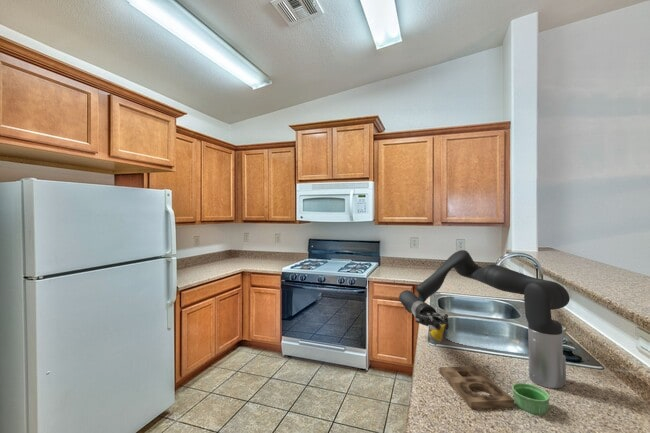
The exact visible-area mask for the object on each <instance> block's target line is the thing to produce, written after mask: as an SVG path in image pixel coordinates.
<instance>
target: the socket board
mask: <svg viewBox="0 0 650 433" xmlns="http://www.w3.org/2000/svg"><path fill="white" fill-rule="evenodd" d="M438 370H439V372H438V373H439V374H440V375H441V377H443V379H444V380H445V381H446V382H447V383H448V385H449V386H450V387H451V388H452V389H453V391H455V393H456V394H457V395H459V397H460V398H461V399H462V400H463V402H465V404H466V405H467V406H468V407H469V408H470V409H471V410H476V409H477V410H478V409H479V410H481V409H495V408H500V409H501V408H514V407H515V402H514V397H513V398H512V397H511V396H510V394H508V393H507V392H506V391H505V390H503V389H502V387H500V386H499V385H498V384H496V383H495V382H494V381H493V380H492V379H490V378H489V376H487V375H486V374H485V373H484V372H482V371H481V369H479V368H478V367H476V366H475V365H464V366H463V365H461V366H460V365H459V366H440V367H439V369H438ZM473 390H478V391H483V392H484V393H487V395H484V394H480V393H479V394H478V393H477V392H475V391H473Z"/></svg>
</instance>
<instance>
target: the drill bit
mask: <svg viewBox="0 0 650 433" xmlns="http://www.w3.org/2000/svg"><path fill="white" fill-rule="evenodd" d="M445 325H446V324H444V325H442V326H441V325H440V329H439V330H438V329H436V328H434V329H430V330H428V332H427V335H428V336H427V337H429V338H430V339H429V340H430V344H432V345H434V346H436V345H437V344H438V345H439V344H441V343H443V342H442V341H443V336H444V332H445V330H446V329H445Z"/></svg>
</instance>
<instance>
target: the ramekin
mask: <svg viewBox="0 0 650 433" xmlns="http://www.w3.org/2000/svg"><path fill="white" fill-rule="evenodd" d="M512 392H513V399H514V405H516V406H517V407H518V408H519V409H521V410H522V411H524V412H527V413H530V414H534V415H536V416H537V415H539V416H540V415H541V416H542V415H545V414H547V413H548V410H549V401H550V399H551V397H550V395H549V393H548V392H547V391H546V390H545V389H542V388H541V387H538V386H537V385H534V384H530V383H524V382H518V383H517V382H516V383H514V384H513V385H512Z"/></svg>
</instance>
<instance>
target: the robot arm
mask: <svg viewBox="0 0 650 433" xmlns="http://www.w3.org/2000/svg"><path fill="white" fill-rule="evenodd" d="M452 269H454V270H455V272H456V273H457V274H458V275H459V276H461V277H464V278H468V279H470V280H471V279H472V280H476V281H478V282H480V283H482V284H486V285H487V286H488V287H489V286H490V287H491V288H494V289H495V290H496V289H497V290H498V291H499V290H500V291H501V292H507V293H511V294H517V295H518V294H519V295H523V297H524V298H523V301H524V315H525V318H526V322H527V325H528V326H527V327H528V328H527V331H528V332H527V333H528V335H527V336H528V378H529V379H530V381H531V382H533V383H535V384H537V385H538V386H541V387H545V388H549V389H561V388H563V386H566V385H567V368H566V367H567V360H566V355H564V354H563V352H564V348H563V346H564V345H563V343H564V342H563V325H562V323H561V322H559V321H557V320H555V319H553V316H552V311H554V310H559V309H562V308H564V307H566V306H567V305H568V304H569V303H570V299H571V298H570V294H569V292H568V290H567V289H566V288H565V287H564V286H563V285H561V283H558V282H555V281H552V280H547V279H542V278H537V277H533V276H530V275H527V274H525V273H521V272H519V271H516V270H513V269H511V268H507V267H504V266H502V265H497V264H489V265H485V266H484V267H482V266H480V265H478V264H477V263H476V262H475V261H474V260H473V258H472V255H470V253H469V252H468V251H467V250H464V249H461V250H457V251H455V252H454V253H453V254H451V255H450V256H449V257H448V258H447V259H446V260H445V261H444V262H443V263H442V264H441V265H440V266H439V267H438V268H437V269H436V270H435V271H434V272H433V273H432V274H431V275H430V276H428V277H427V278H426V279H425V280H423V281H422V282H421V283H419V284H418V285H417V286H416V288H415V290H416V292H417V295H416V294H415V293H414V292H413V291H411V290H410V289H409V290H407V289H406V290H403V291H401V292H400V293H399V296H398V299H399V302H400V303H401V304H402V306H403V307H404V309H405V311H407V313H410V314H412V315H413V316H414V318H415V323H417V324H419V325H422V326H426V327H429V326H430V327H433V328H434V329H435V328H436V329H438V330H439V329H440V326H442V325H444V324H446V325H445V329H444V330H448V329H449V314H447V313H444V314H443V315H441V313H438V312H437V310H436V309H435V308H434V307H433V306H432V305H429V304H428V303H427V302H426V301H427V300H428V299H429V298H430V297H431V296H433V295H434V294H435V293H436V292H438V291H439V290H440V288H441V287H442V286H443V284H444V281H445V280H446V277H447V276H448V274H449V272H450V271H451V270H452Z"/></svg>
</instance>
